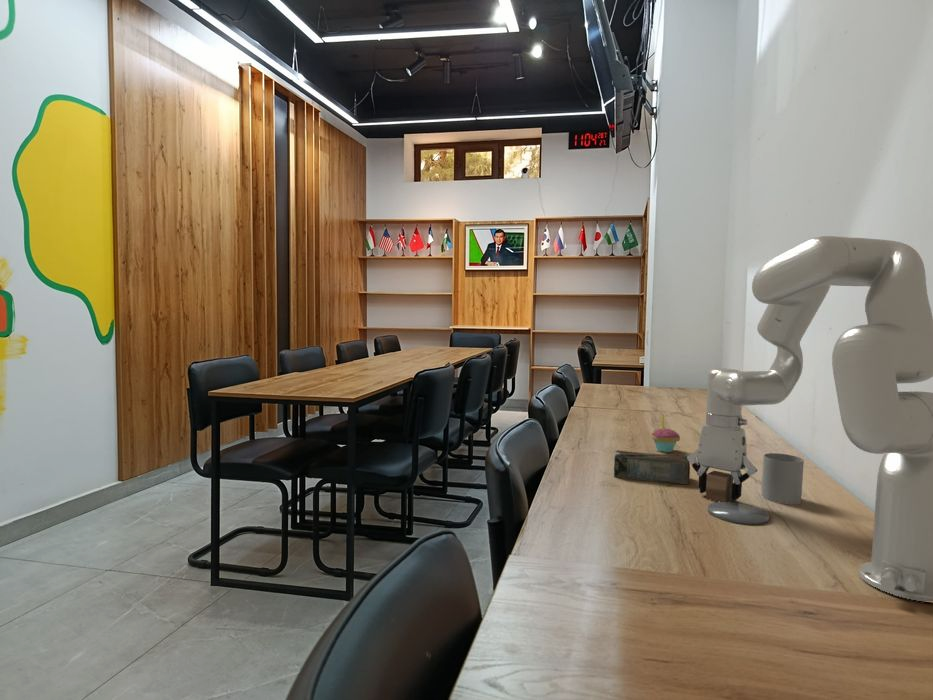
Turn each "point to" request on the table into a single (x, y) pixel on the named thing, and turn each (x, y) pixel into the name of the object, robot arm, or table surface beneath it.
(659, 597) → the table surface
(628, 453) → the dark grey rectangular box
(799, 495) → the cup
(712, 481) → the block
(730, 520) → the coaster
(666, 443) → the cupcake
